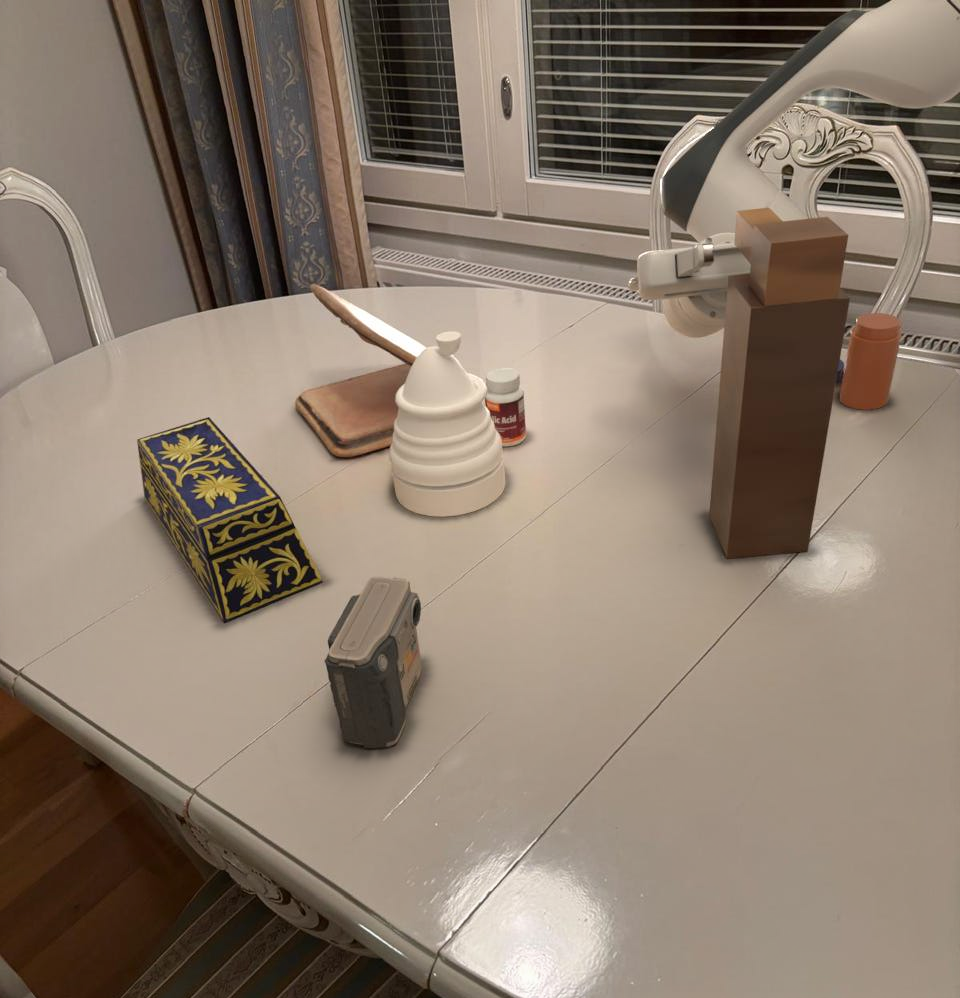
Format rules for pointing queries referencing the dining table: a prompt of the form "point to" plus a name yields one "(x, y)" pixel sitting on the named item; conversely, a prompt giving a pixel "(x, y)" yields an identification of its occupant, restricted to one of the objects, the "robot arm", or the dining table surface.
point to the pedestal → (772, 419)
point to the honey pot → (445, 437)
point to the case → (359, 387)
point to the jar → (870, 361)
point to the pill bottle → (506, 405)
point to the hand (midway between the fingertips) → (756, 247)
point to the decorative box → (223, 519)
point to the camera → (375, 661)
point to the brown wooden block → (791, 256)
